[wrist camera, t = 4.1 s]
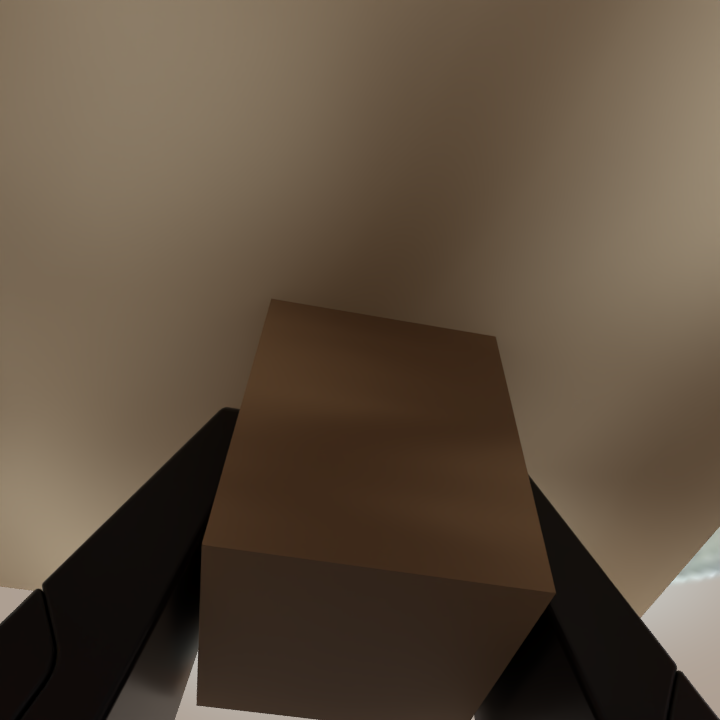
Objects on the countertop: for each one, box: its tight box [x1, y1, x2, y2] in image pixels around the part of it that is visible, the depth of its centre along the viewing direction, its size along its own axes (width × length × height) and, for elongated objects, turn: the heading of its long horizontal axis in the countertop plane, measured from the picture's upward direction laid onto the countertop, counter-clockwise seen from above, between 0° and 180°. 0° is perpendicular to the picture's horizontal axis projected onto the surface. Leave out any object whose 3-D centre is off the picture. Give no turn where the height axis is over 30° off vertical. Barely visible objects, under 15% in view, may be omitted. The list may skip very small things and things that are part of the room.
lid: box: [0, 0, 720, 720], centre depth 8 cm, size 14×14×5 cm
